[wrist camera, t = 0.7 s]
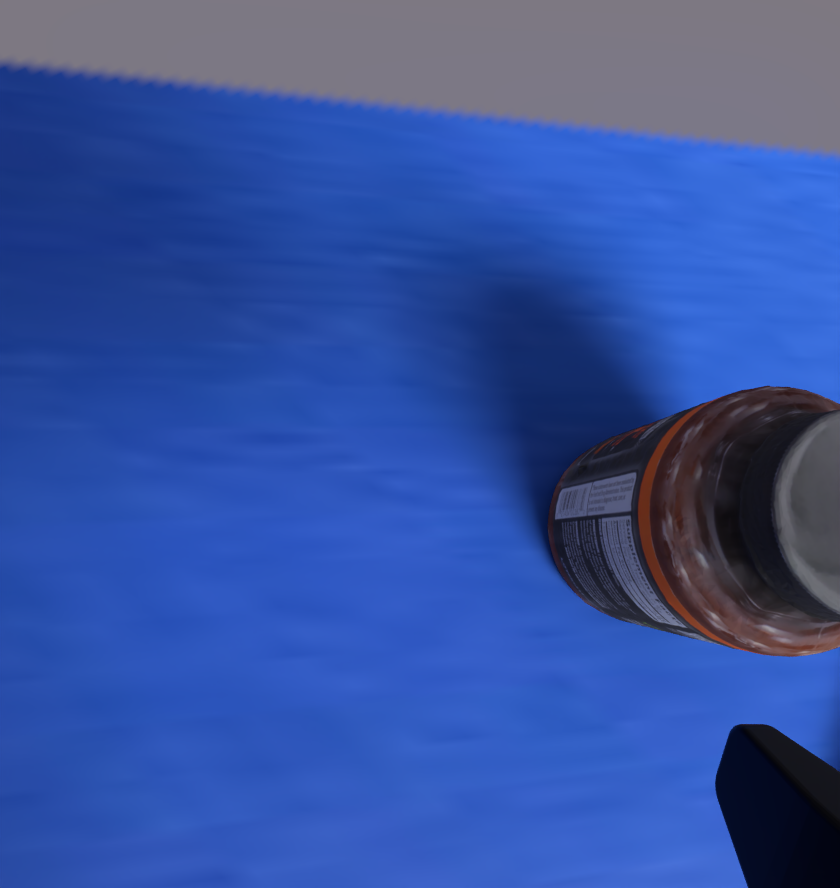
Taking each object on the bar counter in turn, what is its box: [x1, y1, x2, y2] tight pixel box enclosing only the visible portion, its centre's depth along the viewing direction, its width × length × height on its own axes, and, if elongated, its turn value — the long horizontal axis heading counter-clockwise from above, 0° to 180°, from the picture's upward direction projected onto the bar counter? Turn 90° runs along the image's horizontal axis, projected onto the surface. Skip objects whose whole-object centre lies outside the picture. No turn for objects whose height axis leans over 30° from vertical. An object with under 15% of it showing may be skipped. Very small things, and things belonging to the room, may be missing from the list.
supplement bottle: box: [548, 386, 840, 657], centre depth 19 cm, size 6×6×11 cm
